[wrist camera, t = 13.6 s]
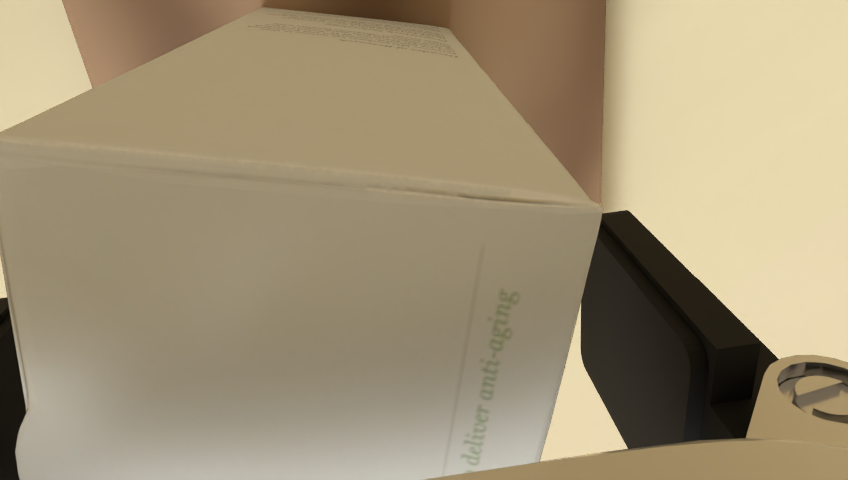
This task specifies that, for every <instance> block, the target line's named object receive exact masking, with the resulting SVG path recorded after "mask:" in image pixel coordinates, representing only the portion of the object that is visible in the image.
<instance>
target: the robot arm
mask: <svg viewBox="0 0 848 480" xmlns="http://www.w3.org/2000/svg"><path fill="white" fill-rule="evenodd" d="M581 355H582V360H583V364H584V367H585V369H586V371H587V373H588V375H589V376H590V378H591V380H592V382H593V384H594V386H595V388H596V390H597V391H598V393H599V395H600V397H601V399H602V401H603V403H604V404H605V406H606V408H607V410H608V412H609V414H610V416H611V418H612V419H613V421H614V423H615V425H616V427H617V429H618V431H619V432H620V434H621V436H622V438H623V440H624V442H625V444H626V445H627V447H628V449H624V450H616V451H608V452H601V453H594V454H588V455H581V456H575V457H568V458H561V459H555V460H548V461H542V462H535V463H528V464H522V465H515V466H509V467H502V468H495V469H489V470H482V471H476V472H469V473H462V474H456V475H449V476H443V477H436V478H429V479H423V480H848V362H845V361H841V360H838V359H835V358H830V357H823V356H817V355H795V356H790V357H786V358H781V359H778V358H777V357H776V356H775V355H774V354H773V353H772V352H771V351H770V350H769V349H768V348H767V347H766V346H765V345H764V344H763V343H762V342H761V341H760V340H759V339H758V338H757V337H756V336H755V335H754V334H753V333H752V332H751V331H750V330H749V329H748V328H747V327H746V326H745V325H744V324H743V323H742V322H741V321H740V320H739V319H738V318H737V317H736V316H735V315H734V314H733V313H732V312H731V311H730V310H729V309H728V308H727V307H726V306H725V305H724V304H723V303H722V302H721V301H720V300H719V299H718V298H717V297H716V296H715V295H714V294H713V293H712V292H711V291H710V290H709V289H708V288H707V287H706V286H705V285H704V284H703V283H702V282H701V281H700V280H699V279H697V278H696V277H695V276H694V275H693V274H692V273H691V272H690V271H689V270H688V269H687V268H686V267H685V266H684V265H683V264H682V263H681V262H680V261H679V260H678V259H677V258H676V257H675V256H674V255H673V254H672V253H671V252H670V251H669V250H668V249H667V248H666V247H665V246H664V245H663V244H662V243H661V242H660V241H659V240H658V239H657V238H656V237H655V236H654V235H653V234H652V233H651V232H650V231H648V230H647V229H646V228H645V227H644V226H643V225H642V224H641V223H640V222H639V221H638V220H637V219H636V218H635V217H634V216H633V215H632V214H631V213H630V212H629V211H627V210H626V211H619V212H611V213H604V214H602V217H601V222H600V227H599V232H598V236H597V239H596V243H595V247H594V251H593V255H592V259H591V263H590V267H589V271H588V275H587V279H586V283H585V287H584V291H583V295H582V299H581ZM25 415H26V405H25V399H24V393H23V388H22V382H21V376H20V370H19V364H18V358H17V352H16V346H15V340H14V334H13V328H12V322H11V316H10V310H9V304H8V298H0V480H20V478H19V475H18V469H17V461H16V454H15V450H16V443H17V437H18V433H19V429H20V426H21V424H22V422H23V420H24V417H25Z"/></svg>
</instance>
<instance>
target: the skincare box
mask: <svg viewBox="0 0 848 480" xmlns="http://www.w3.org/2000/svg"><path fill="white" fill-rule="evenodd" d="M602 212H603V210H602V206H601V205H600V204H598V203H596V202H594V201H592V200H590V198H589V197H588V196H587V195H586V193H585V192H584V191H583V189H582V188H581V187H580V186H579V184H578V183H577V182H576V181H575V179H574V178H573V177H572V176H571V175H570V174H569V172H568V171H567V170H566V169H565V168H564V166H563V165H562V164H561V163H560V162H559V160H558V159H557V158H556V157H555V156H554V154H553V153H552V152H551V151H550V150H549V148H548V147H547V146H546V145H545V144H544V143H543V141H542V140H541V139H540V138H539V137H538V135H537V134H536V133H535V132H534V130H533V129H532V128H531V126H530V125H529V124H527V123H526V122H525V120H524V119H523V117H522V116H521V115H520V114H519V113H518V111H517V110H516V109H515V108H514V107H513V106H512V104H511V103H510V102H509V101H508V100H507V98H506V97H505V96H504V95H503V94H502V92H501V91H500V90H499V89H498V88H497V86H496V85H495V83H494V82H493V81H492V80H491V79H490V78H489V76H488V75H487V74H486V73H485V72H484V71H483V70H482V69H481V67H480V66H479V65H478V64H477V62H476V61H475V60H474V59H473V57H472V56H471V55H470V54H469V53H468V51H467V50H466V49H465V48H464V47H463V46H462V44H461V43H460V42H459V41H458V40H457V38H456V37H455V36H454V34H453V33H452V32H451V31H450V29H448V28H443V27H436V26H430V25H423V24H414V23H406V22H397V21H389V20H380V19H370V18H361V17H351V16H342V15H333V14H323V13H314V12H305V11H295V10H286V9H276V8H267V7H262V8H260V9H257V10H255V11H253V12H251V13H249V14H247V15H245V16H243V17H241V18H239V19H237V20H234V21H232V22H230V23H228V24H226V25H224V26H222V27H220V28H218V29H216V30H214V31H212V32H210V33H207V34H205V35H203V36H201V37H200V38H197V39H195V40H193V41H191V42H189V43H187V44H185V45H183V46H181V47H178V48H176V49H174V50H172V51H170V52H168V53H166V54H164V55H162V56H160V57H158V58H156V59H154V60H152V61H150V62H148V63H145V64H143V65H141V66H139V67H137V68H135V69H133V70H131V71H129V72H126V73H124V74H122V75H120V76H118V77H116V78H114V79H112V80H110V81H108V82H105V83H103V84H101V85H99V86H97V87H95V88H93V89H91V90H89V91H86V92H84V93H82V94H80V95H78V96H76V97H74V98H72V99H70V100H68V101H66V102H64V103H62V104H60V105H57V106H55V107H53V108H51V109H49V110H47V111H45V112H43V113H41V114H38V115H36V116H34V117H32V118H30V119H28V120H26V121H24V122H22V123H20V124H17V125H15V126H13V127H11V128H9V129H6V130H4V131H2V132H0V255H1V262H2V268H3V274H4V280H5V286H6V292H7V298H8V304H9V310H10V316H11V322H12V328H13V334H14V340H15V346H16V352H17V358H18V364H19V370H20V376H21V382H22V388H23V393H24V399H25V405H26V415H25V417H24V420H23V422H22V424H21V426H20V429H19V433H18V437H17V443H16V450H15V454H16V461H17V469H18V475H19V478H20V480H423V479H429V478H436V477H443V476H449V475H456V474H462V473H469V472H476V471H482V470H489V469H495V468H502V467H509V466H515V465H522V464H528V463H535V462H540V458H541V455H542V451H543V447H544V444H545V440H546V437H547V433H548V430H549V426H550V423H551V419H552V415H553V411H554V407H555V403H556V399H557V395H558V391H559V387H560V384H561V380H562V376H563V372H564V368H565V364H566V360H567V356H568V352H569V348H570V344H571V340H572V337H573V333H574V328H575V324H576V320H577V316H578V312H579V308H580V304H581V299H582V295H583V291H584V287H585V283H586V279H587V275H588V271H589V267H590V263H591V259H592V255H593V251H594V247H595V243H596V239H597V236H598V232H599V227H600V222H601V217H602Z"/></svg>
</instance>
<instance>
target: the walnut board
mask: <svg viewBox="0 0 848 480" xmlns="http://www.w3.org/2000/svg"><path fill="white" fill-rule="evenodd" d="M62 2H63V5H64V8H65V11H66V13H67V16H68V19H69V22H70V25H71V28H72V31H73V34H74V36H75V39H76V42H77V45H78V48H79V51H80V54H81V56H82V59H83V62H84V65H85V68H86V71H87V74H88V76H89V79H90V82H91V85H92V88H95V87H97V86H99V85H101V84H103V83H105V82H108V81H110V80H112V79H114V78H116V77H118V76H120V75H122V74H124V73H126V72H129V71H131V70H133V69H135V68H137V67H139V66H141V65H143V64H145V63H148V62H150V61H152V60H154V59H156V58H158V57H160V56H162V55H164V54H166V53H168V52H170V51H172V50H174V49H176V48H178V47H181V46H183V45H185V44H187V43H189V42H191V41H193V40H195V39H197V38H200V37H201V36H203V35H205V34H207V33H210V32H212V31H214V30H216V29H218V28H220V27H222V26H224V25H226V24H228V23H230V22H232V21H234V20H237V19H239V18H241V17H243V16H245V15H247V14H249V13H251V12H253V11H255V10H257V9H260V8H262V7H267V8H276V9H286V10H295V11H305V12H314V13H323V14H333V15H342V16H351V17H361V18H370V19H380V20H389V21H397V22H406V23H414V24H423V25H430V26H436V27H443V28H448V29H450V31H451V32H452V33H453V34H454V36H455V37H456V38H457V40H458V41H459V42H460V43H461V44H462V46H463V47H464V48H465V49H466V50H467V51H468V53H469V54H470V55H471V56H472V57H473V59H474V60H475V61H476V62H477V64H478V65H479V66H480V67H481V69H482V70H483V71H484V72H485V73H486V74H487V75H488V76H489V78H490V79H491V80H492V81H493V82H494V83H495V85H496V86H497V88H498V89H499V90H500V91H501V92H502V94H503V95H504V96H505V97H506V98H507V100H508V101H509V102H510V103H511V104H512V106H513V107H514V108H515V109H516V110H517V111H518V113H519V114H520V115H521V116H522V117H523V119H524V120H525V122H526V123H527V124H529V125H530V126H531V128H532V129H533V130H534V132H535V133H536V134H537V135H538V137H539V138H540V139H541V140H542V141H543V143H544V144H545V145H546V146H547V147H548V148H549V150H550V151H551V152H552V153H553V154H554V156H555V157H556V158H557V159H558V160H559V162H560V163H561V164H562V165H563V166H564V168H565V169H566V170H567V171H568V172H569V174H570V175H571V176H572V177H573V178H574V179H575V181H576V182H577V183H578V184H579V186H580V187H581V188H582V189H583V191H584V192H585V193H586V195H587V196H588V197H589V198H590V200H592V201H594V202H596V203H598V204H600V193H601V158H602V123H603V88H604V52H605V17H606V0H62Z"/></svg>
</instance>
